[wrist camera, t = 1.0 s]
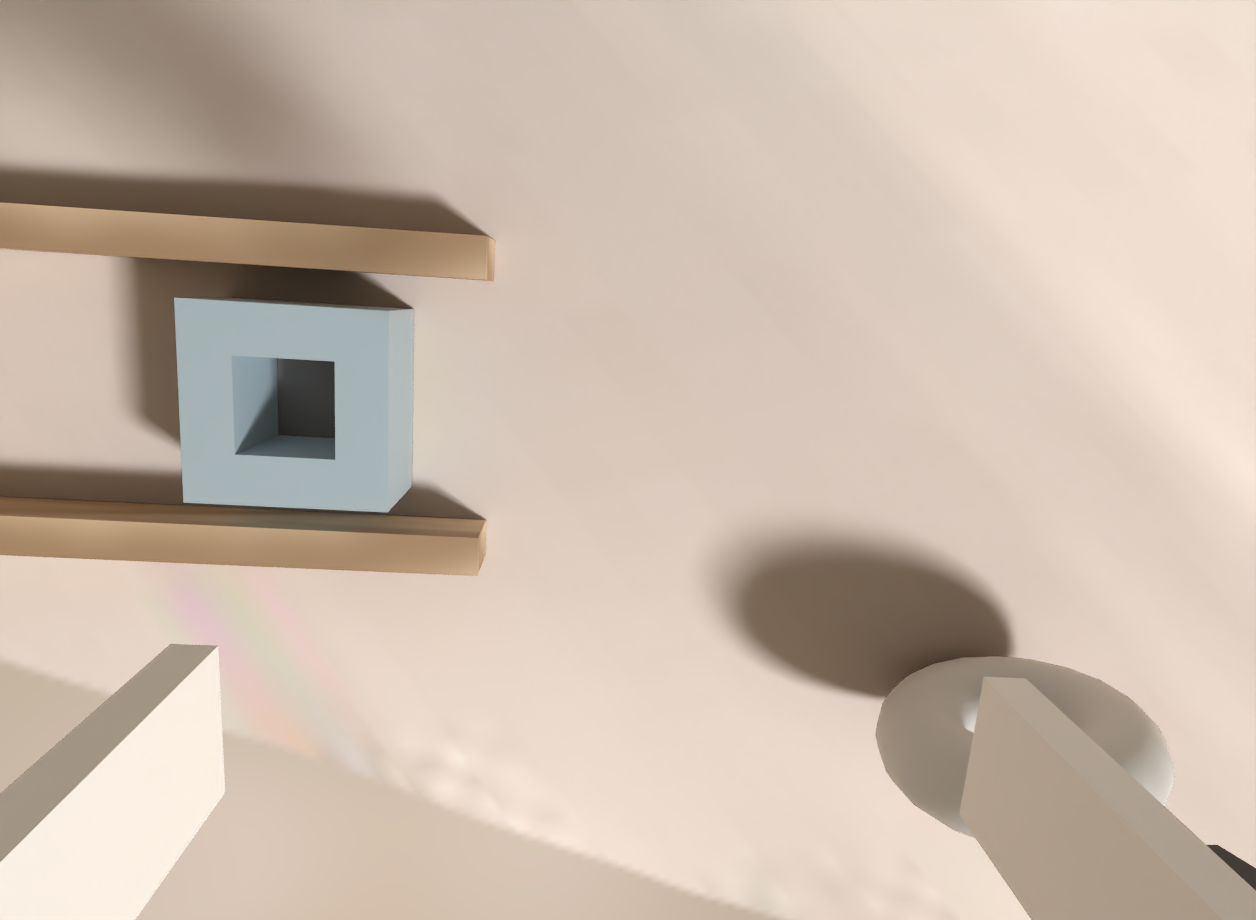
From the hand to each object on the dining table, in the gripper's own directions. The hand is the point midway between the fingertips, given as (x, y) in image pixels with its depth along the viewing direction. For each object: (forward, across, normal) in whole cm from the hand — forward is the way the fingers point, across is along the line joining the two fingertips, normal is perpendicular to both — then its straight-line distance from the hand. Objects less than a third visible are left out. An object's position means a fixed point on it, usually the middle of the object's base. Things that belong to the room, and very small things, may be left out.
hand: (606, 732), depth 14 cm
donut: (+19, +16, -8) cm, 27 cm away
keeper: (+19, -11, +2) cm, 22 cm away
